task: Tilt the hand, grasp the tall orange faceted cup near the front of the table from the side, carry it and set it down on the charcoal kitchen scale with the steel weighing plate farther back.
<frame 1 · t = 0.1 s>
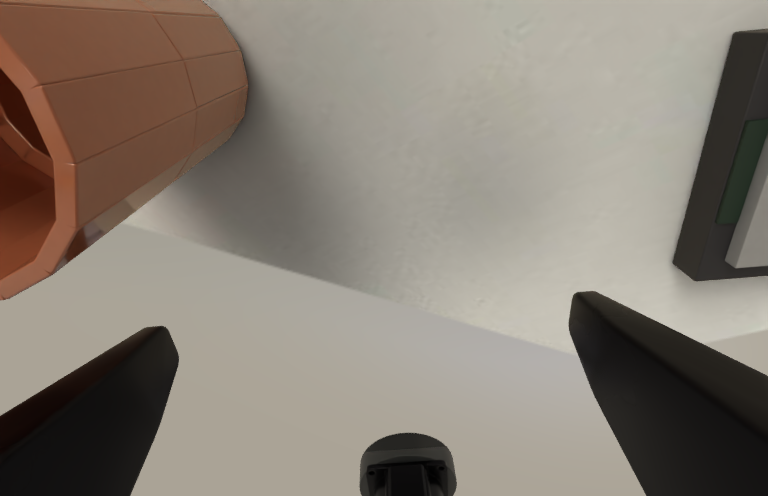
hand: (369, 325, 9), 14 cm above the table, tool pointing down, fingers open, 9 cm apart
orange faceted cup: (170, 74, 19), on the table
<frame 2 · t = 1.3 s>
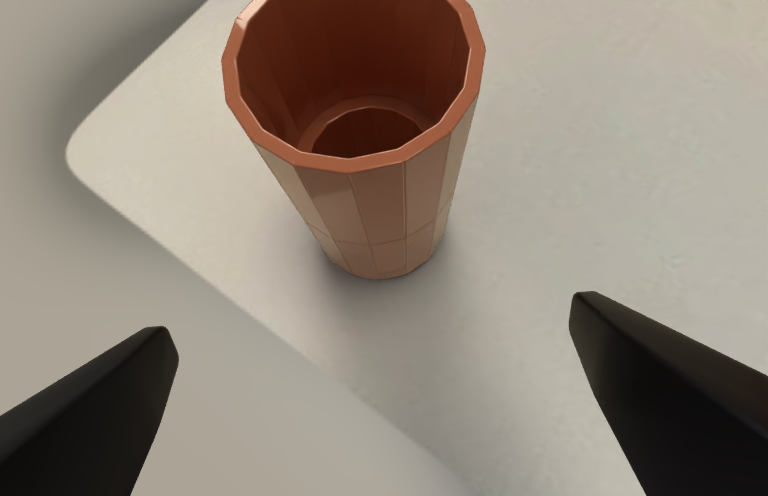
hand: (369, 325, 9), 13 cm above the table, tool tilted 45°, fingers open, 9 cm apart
orange faceted cup: (380, 218, 24), on the table
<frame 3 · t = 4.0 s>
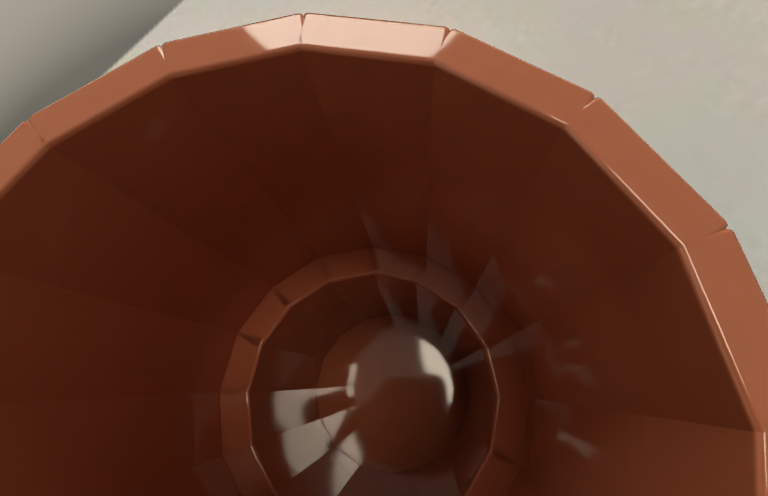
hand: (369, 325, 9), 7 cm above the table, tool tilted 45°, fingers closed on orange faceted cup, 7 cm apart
orange faceted cup: (391, 389, 15), on the table, touching gripper
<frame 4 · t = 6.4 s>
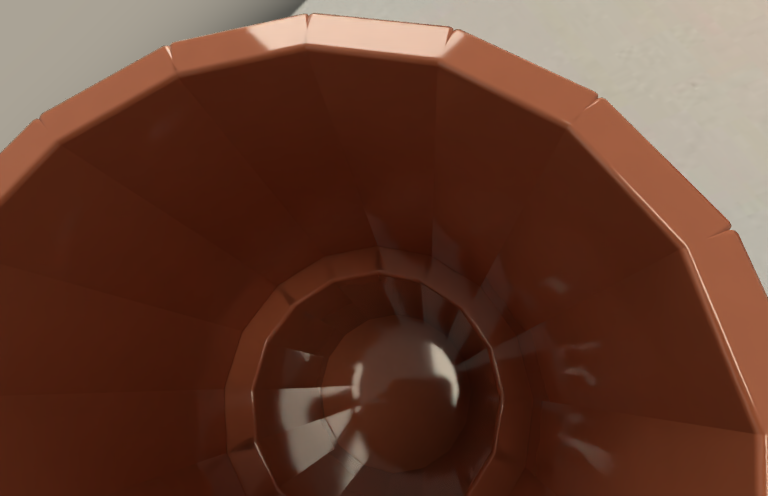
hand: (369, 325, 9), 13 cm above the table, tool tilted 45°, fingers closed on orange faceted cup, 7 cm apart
orange faceted cup: (396, 389, 15), point 7 cm above the table, touching gripper
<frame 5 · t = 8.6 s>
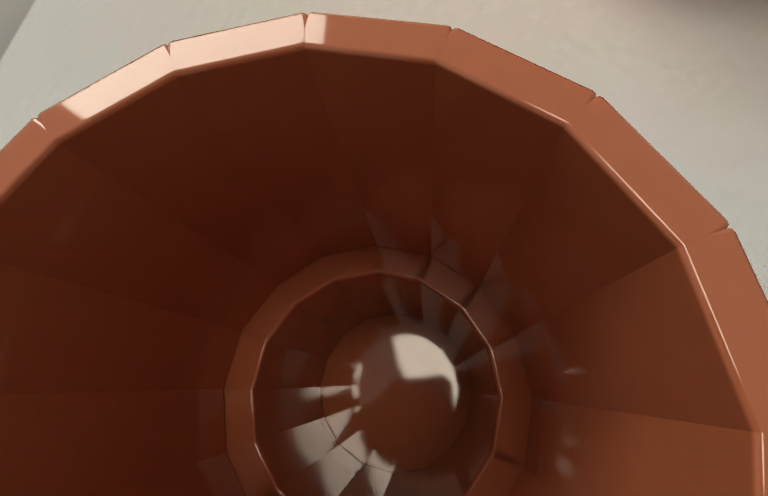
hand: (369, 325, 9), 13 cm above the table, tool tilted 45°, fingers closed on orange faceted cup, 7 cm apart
orange faceted cup: (395, 389, 15), point 7 cm above the table, touching gripper
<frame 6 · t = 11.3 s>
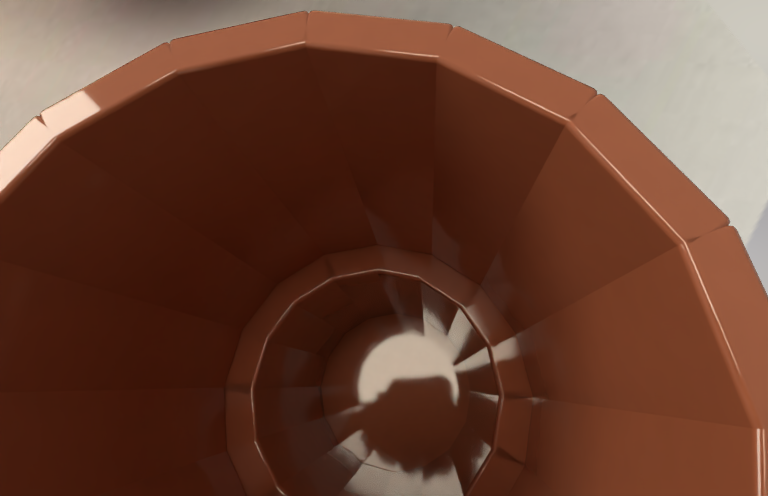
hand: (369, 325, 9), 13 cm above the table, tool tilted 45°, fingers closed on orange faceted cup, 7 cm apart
orange faceted cup: (396, 388, 15), point 7 cm above the table, touching gripper
when the fingers open (10 cm above the table, at t = 13.4 s): orange faceted cup stays where it is, resting on scale.
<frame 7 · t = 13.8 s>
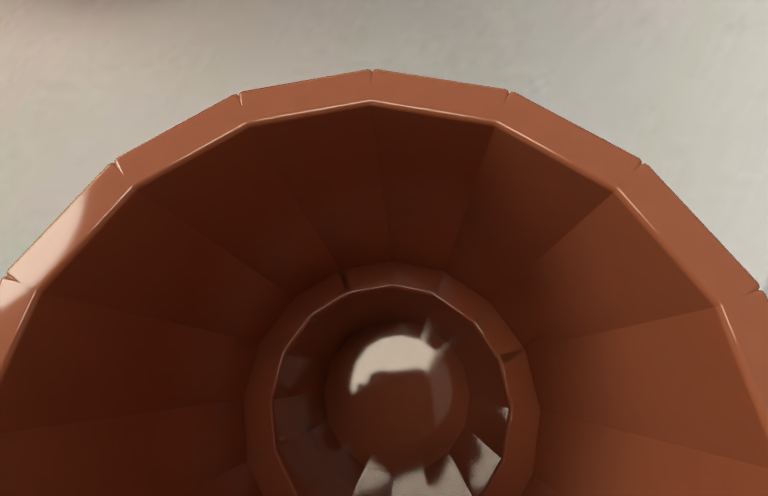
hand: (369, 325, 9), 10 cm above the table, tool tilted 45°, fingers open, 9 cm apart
orange faceted cup: (396, 392, 16), point 3 cm above the table, touching scale
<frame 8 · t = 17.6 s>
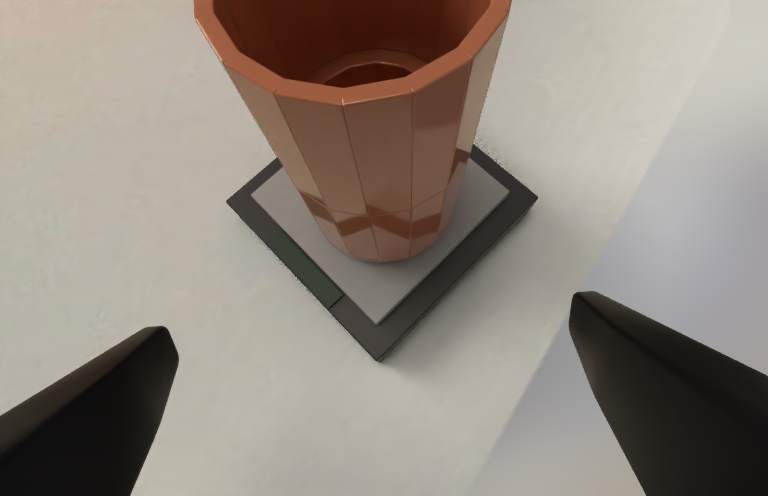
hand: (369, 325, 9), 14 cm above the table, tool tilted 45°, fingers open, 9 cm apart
orange faceted cup: (383, 197, 22), point 3 cm above the table, touching scale
scale: (381, 212, 25), on the table
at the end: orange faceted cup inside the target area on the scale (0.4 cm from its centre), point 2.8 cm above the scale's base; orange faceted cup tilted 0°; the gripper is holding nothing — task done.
